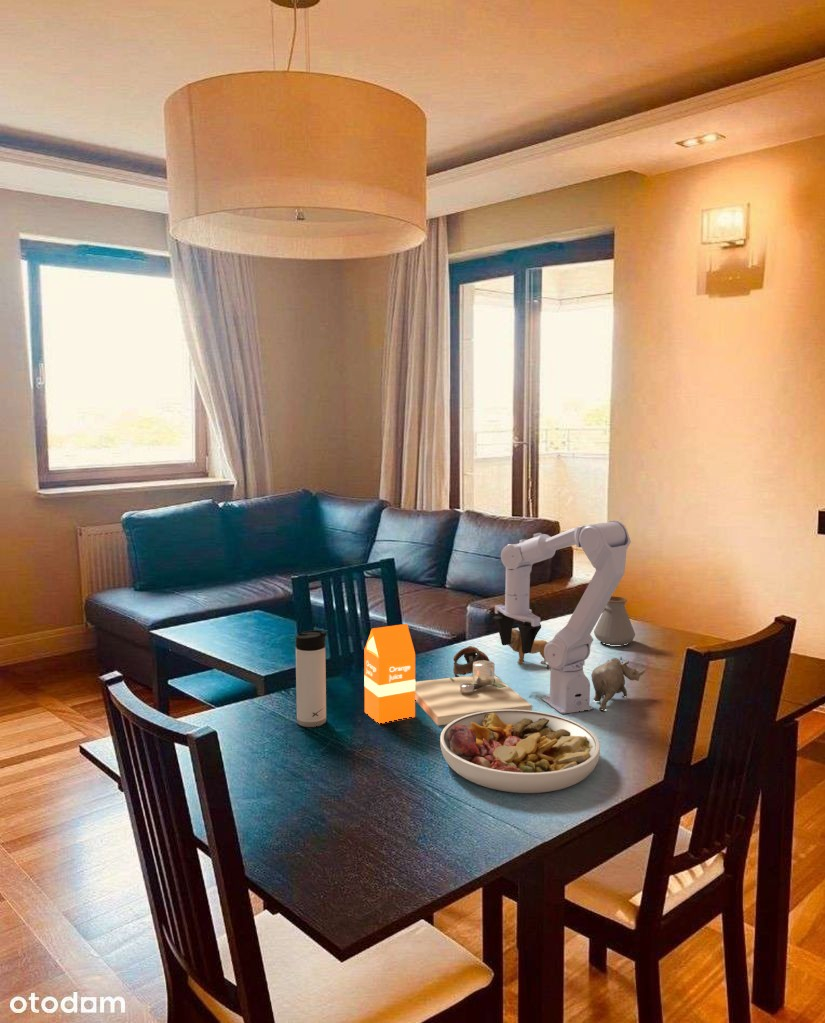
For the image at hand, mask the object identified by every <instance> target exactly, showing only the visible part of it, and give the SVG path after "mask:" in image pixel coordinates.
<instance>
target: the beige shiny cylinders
mask: <svg viewBox="0 0 825 1023" xmlns="http://www.w3.org/2000/svg"><path fill="white" fill-rule="evenodd" d="M494 675H495V662H493V661H491V660H490V661H485V660H481V661H475V662H474V663H473V672H472V676H473V683H474V684H471V683H463V684H460V692H461V693H464V694H471V693H473V692H474V690H476V689H479V688H481V687H484V686H488V685H492V684H494V683H495V679H494Z"/></svg>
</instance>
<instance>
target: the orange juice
mask: <svg viewBox="0 0 825 1023" xmlns="http://www.w3.org/2000/svg"><path fill="white" fill-rule="evenodd" d="M363 649H364V652H363V653H364V655H363V656H364V657H363V658H364V661H363V662H364V664H363V665H364V668H363V669H364V672H363V673H364V675H363V676H364V682H363V683H364V684H363V686H364V713H365V714H366V715H367V714H368V715H367V716H369V717H370V718H371V719H372V720H373V719H374V720H373V721H375V723H377V722H378V723H379V724H378V723H377V724H378V725H381V724H380V723H382V724H386V723H385V722H387V723H390V722H389V721H392V722H395V721H394V720H397V721H399V720H398V719H402V720H404V719H403V718H407V719H410V718H409V717H412V718H416V701H415V682H416V652H415V648H414V644H413V641H412V637H411V633H410V629H409V626H408V623H405V624H404V623H403V624H395V625H388V626H382V627H374V628H371V630H370V633H369V636H368V639H367V641H366V644H365V647H364V648H363Z"/></svg>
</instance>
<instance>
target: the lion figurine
mask: <svg viewBox="0 0 825 1023" xmlns="http://www.w3.org/2000/svg"><path fill="white" fill-rule="evenodd" d="M548 642H549V641H546V640H544V639H543V640H542V639H541V640H540V639H538V640H536V639H535V640H534V643H533V646H532V649H531V653H530V654H533V655H535V654H537V653H539V654H540V656H541V657H542V658H543V660H541V661H540V664H542V665H544V664H546V663H547V661H546V659H545V656H544V648H545V645H546V644H547V643H548ZM507 646H508V647H510V648H511V650H513V652H516V653H518V657H519V658H518V660H517V665H522V664H523V663H524V659H525V654H524V653H522V644H521V635H520V631H519V629H516V628H512V634H511V643H510V644H509V645H507ZM546 668H547V669H551V667H549V664H548V665H546Z"/></svg>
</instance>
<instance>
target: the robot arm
mask: <svg viewBox="0 0 825 1023" xmlns="http://www.w3.org/2000/svg"><path fill="white" fill-rule="evenodd" d="M631 543H632V541H631V538H630V536H629V533H628V529H627V528H626V525H624V524H623V523H622V522H620V521H618V520H611V521H608V522H601V523H593V524H592V523H591V524H587V525H581V526H580V525H579V526H575V527H573V528H570V529H567V530H565V531H563V532H560V533H557V534H556V535H553V536H550V535H549V534H545V533H542V532H537V533H533V536H532V538H529V539H525V538H524V539H520V540H519V543H515V544H507V545H506V546H504V547H503V548H502V550H501V551H500V560H501V563H502V565H503V566H504V567H505V585H504V586H505V587H504V588H505V590H504V596H505V597H504V600H505V601H504V604H497V605H494V614H497V615H495V616H493V617H492V620H493V622H494V624H495V626H496V628H497V631H498V634H499V638H500V643H501V645H502V646H508V645H509V644H510V643H511V634H512V629H513V626H514V623H515V620H516V621H519V622H523V623H522V624H518V625H517V628H518V631H520V635H521V644H522V653H524V655H525V654H531V649H532V646H533V643H534V640H536V637H537V635H538V633H539V631H540V630H541V628H542V624H541V617H539V616H538V615H536V614H534V613H533V610H532V609H530V589H531V588H530V586H531V585H530V582H531V578H530V577H531V573H532V569H533V568H532V567H533V565H534V564H537V563H540V562H543V561H546V560H549V559H551V558H553V557H554V556H555V554H556V551H557V550H558V551H559V550H561V549H564V548H565V549H566V548H568V547H571V546H576V548H582V550H583V553H584V554H585V556H586V557H587V559H588V561H589V563H591V565H592V567H593V568H595V569H594V570H595V572H594V574H593V576H592V578H591V580H590V582H589V583H588V585H587V587H586V588H585V589H584V593H583V595H582V596H581V597H580V600H579V601H578V604H577V605H576V607H575V609H574V611H573V613H572V614H571V617H570V618H569V620H568V621H567V624H566V625H565V626H564V627H563V628H562V629H560V630H558V632H557V633H555V635H554V637H553V638H552V640H549V641H547V642H548V643H547V644H546V645H545V648H544V656H545V659H546V661H547V662H546V663H547V664H548V665H549V667H551V668H550V674H549V675H550V678H549V680H550V682H549V696H544V697H542V700H543V701H544V702H546V704H548V705H549V706H550V707H552V708H553V709H554V710H556V711H557V712H559V713H560V714H570V713H580V712H585V711H584V710H588V711H591V710H590V709H593V710H594V708H593V706H591V705H590V699H591V698H590V696H591V682H590V680H589V678H588V677H587V676H586V675H585V672H584V666H585V665H586V664H585V662H586V660H587V659H588V658H589V657H590V655H591V646H592V643H593V641H594V638H593V636H592V632H593V631H594V629H595V628H594V627H596V626H597V624H598V622H599V620H600V618H601V615H602V613H603V611H604V609H605V607H606V605H607V603H608V602H609V600H610V598H611V596H613V594H614V593H615V591H616V589H617V588H618V587H619V586H618V585H619V584H620V582H621V581H622V578H623V576H624V575H625V572H626V570H625V569H626V559H627V550H628V548H629V546H630V544H631ZM579 711H580V712H579Z"/></svg>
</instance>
